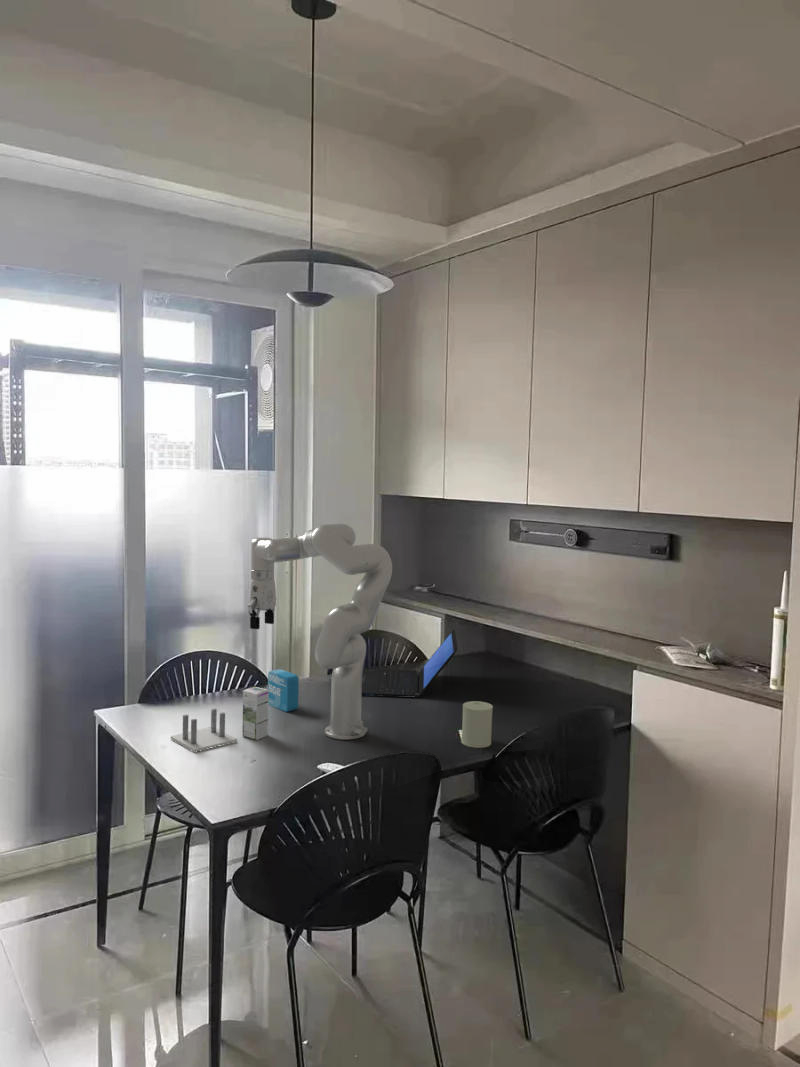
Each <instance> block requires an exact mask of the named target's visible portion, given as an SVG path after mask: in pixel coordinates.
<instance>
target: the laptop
mask: <svg viewBox="0 0 800 1067" xmlns="http://www.w3.org/2000/svg"><path fill="white" fill-rule="evenodd" d="M457 643H458V642H457V636H456V630H455V629H453V630H451V632H450V633H449V634H448V635H447V637H446V638H445V639H444V640H443V641H442V643H441V644H440V645H439V647H438V648H437V649H436V650H435V651H434V653H432V655H431V656H430V658H428V660H427V661H426V663H425V664H424V665H423V666H422V667H421V669H419V670H408V669H407V670H403V669H402V670H400V669H376V668H363V675H362V695H383V696H415V697H417V696H419V697H421V696H422V695H423V693H424V692H425V691H426V689H427V688H428V687H429V686H430V685H431V683H432V682H433V681H434V680H436V678H437V676H438V675H439V674H440V673H441V671H442V670H443V669H444V667H446V666H447V664H448V663H449V662H450V660H451V659H452V658H453V657H454V656H455V655H456V653H457V651H458V644H457ZM418 673H420V674H419V675H418ZM417 698H418V697H417Z"/></svg>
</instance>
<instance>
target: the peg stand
mask: <svg viewBox="0 0 800 1067" xmlns="http://www.w3.org/2000/svg"><path fill="white" fill-rule="evenodd" d="M210 710H211V711H210V727H209V726H208V727H205V728H201V729H198V728H197V727H198V725H197V724H198V719H197V718H191V719H190V731H189V714H182V733H178V734H175V735H174V734H173V735H170V740H171V739H172V740H174V741H176V742H177V744H178V743H179V744H178V745H180V744H181V745H183V746H184V747H183V746H182V747H183V748H185V747H186V748H185V749H187V748H188V749H190V750H192V751H194V752H196V751H200V750H204V749H207V748H210V747H215V746H218V745H223V744H228V743H232V744H234V743H233V742H236V743H238V738H236V737H234V736H233V735H230V734H228V733H226V712H220V713H219V724H218V725H219V729H218V728H217V721H218V720H217V718H218V717H217V715H218V714H217V712H218V710H217V708H211V709H210ZM172 740H171V741H172ZM174 741H173V742H174ZM176 742H175V743H176ZM181 745H180V746H181ZM228 745H229V744H228ZM188 749H187V750H188ZM190 750H189V751H190ZM192 751H191V752H192ZM204 751H205V750H204ZM194 752H193V753H194ZM200 752H201V751H200ZM196 753H197V752H196Z"/></svg>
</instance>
